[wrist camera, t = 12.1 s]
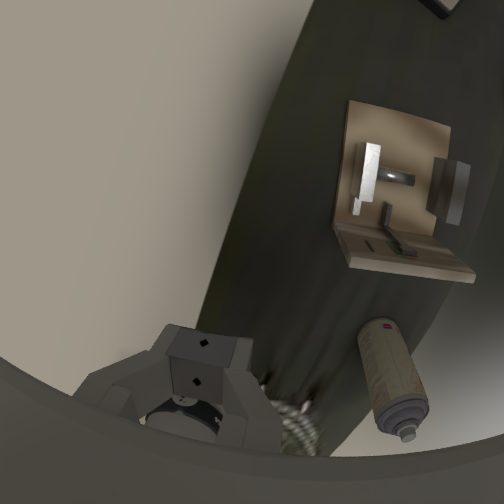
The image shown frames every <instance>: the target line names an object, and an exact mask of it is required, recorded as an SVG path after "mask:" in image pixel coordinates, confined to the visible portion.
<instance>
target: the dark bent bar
mask: <svg viewBox="0 0 504 504" xmlns="http://www.w3.org/2000/svg"><path fill="white" fill-rule="evenodd" d="M392 207H393V205H392V204H390V203H389V202H385V203H384V208H383V213H382V218H381V222H379V225H380V226H381V228H382V229H383V230H384V231H385V232H386V233H387V234H388V235H389V236H390V237H391V238H392V240H393V241H394V242H395V243H396V244H397V245H398V246H399V248H398V250H399V251H400V252H401V253H402V254H407V255H413V256H417V251H416V250H415V249H414V248H412V247H409V246H408V245H407V244H406V243H405V242H404V241H403V240H402V239H401V238H400V237H399V236H398V235H397V234H396V233H395V232H394V231H393V230H392V229H391V228H390V227H389V222H390V217H391V212H392Z"/></svg>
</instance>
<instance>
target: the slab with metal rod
mask: <svg viewBox="0 0 504 504" xmlns="http://www.w3.org/2000/svg"><path fill="white" fill-rule="evenodd" d="M380 148H381V146H380V145H376V144H371V143H361V142H357V145H356V153H355V161H354V168H353V175H352V182H351V188H350V192H351V193H352V194H353V196H352V202H351V208H350V212H351V213H352V215H358V216H359V213H360V207H361V202H362V201H367V202H372V201H373V195H374V189H375V183H376V180H379V181H384V182H389V183H394V184H399V185H404V186H408V187H413V186H414V184H415V174H413V173H409V172H404V171H400V170H396V169H391V168H386V167H382V166H378V163H379V156H380Z"/></svg>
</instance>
